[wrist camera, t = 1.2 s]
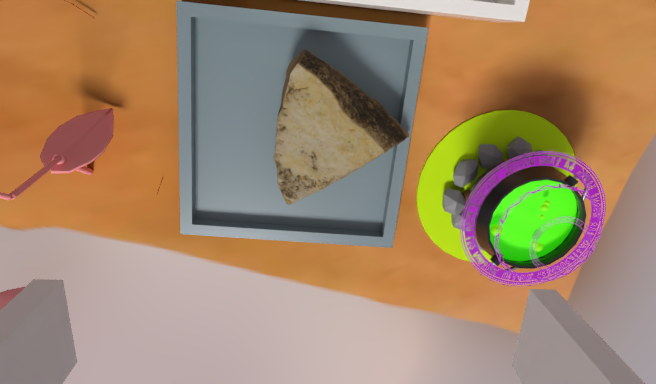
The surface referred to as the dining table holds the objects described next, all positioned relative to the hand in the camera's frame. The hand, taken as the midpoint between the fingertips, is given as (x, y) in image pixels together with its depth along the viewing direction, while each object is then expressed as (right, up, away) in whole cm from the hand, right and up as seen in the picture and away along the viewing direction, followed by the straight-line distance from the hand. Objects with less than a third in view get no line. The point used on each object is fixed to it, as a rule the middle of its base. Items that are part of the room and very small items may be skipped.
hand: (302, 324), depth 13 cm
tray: (-2, +9, +25) cm, 27 cm away
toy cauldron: (+16, +4, +29) cm, 33 cm away
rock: (-2, +6, +28) cm, 29 cm away
